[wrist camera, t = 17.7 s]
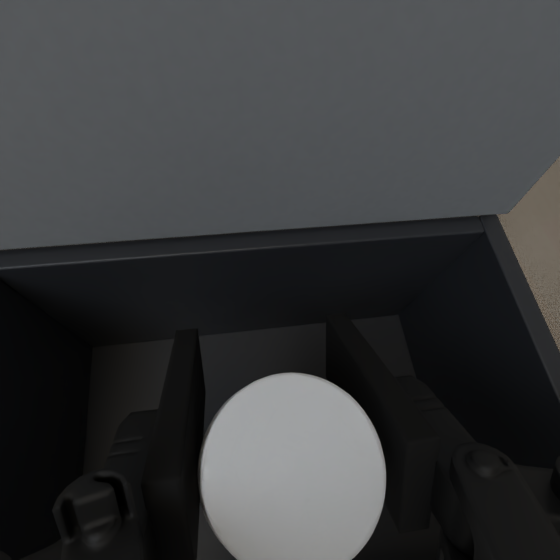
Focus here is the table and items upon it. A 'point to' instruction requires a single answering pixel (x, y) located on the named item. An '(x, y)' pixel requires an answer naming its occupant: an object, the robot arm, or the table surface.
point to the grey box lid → (268, 114)
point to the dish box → (261, 345)
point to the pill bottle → (292, 471)
